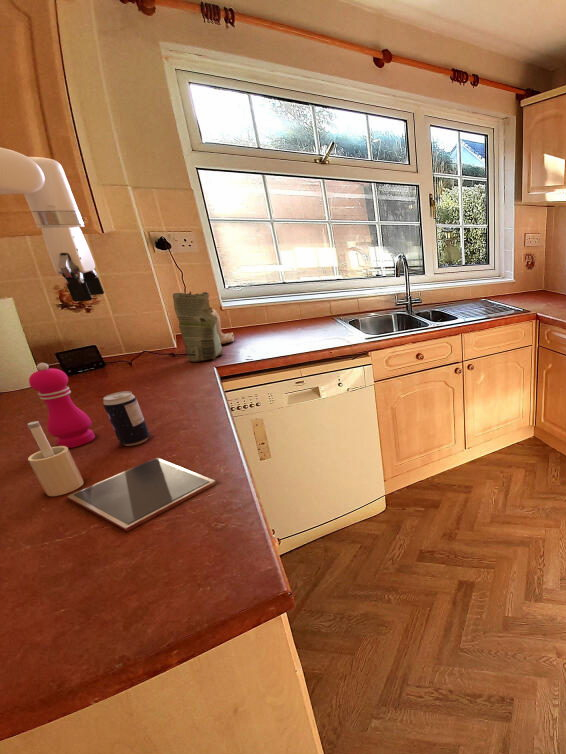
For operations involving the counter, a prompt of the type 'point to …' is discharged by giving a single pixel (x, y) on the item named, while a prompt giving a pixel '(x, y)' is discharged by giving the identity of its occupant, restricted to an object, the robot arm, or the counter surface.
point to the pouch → (197, 326)
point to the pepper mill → (61, 407)
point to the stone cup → (223, 337)
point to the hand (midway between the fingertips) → (89, 297)
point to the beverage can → (126, 418)
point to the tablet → (141, 493)
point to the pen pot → (56, 471)
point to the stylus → (41, 439)
